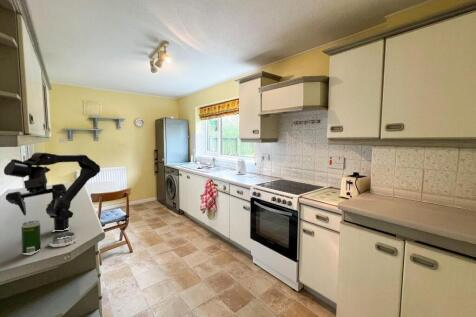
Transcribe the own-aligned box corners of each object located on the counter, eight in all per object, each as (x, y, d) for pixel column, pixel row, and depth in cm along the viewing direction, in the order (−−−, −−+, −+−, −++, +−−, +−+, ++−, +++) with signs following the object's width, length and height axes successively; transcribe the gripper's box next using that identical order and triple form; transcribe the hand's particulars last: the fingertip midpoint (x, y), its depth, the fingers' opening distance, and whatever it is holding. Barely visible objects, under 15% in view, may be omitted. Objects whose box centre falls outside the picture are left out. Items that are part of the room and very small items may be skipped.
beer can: (41, 252, 86) (41, 222, 85) (22, 257, 82) (21, 226, 81) (40, 248, 90) (39, 219, 89) (21, 252, 86) (20, 222, 85)
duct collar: (52, 240, 97) (52, 233, 97) (79, 236, 102) (79, 229, 102) (45, 249, 89) (45, 242, 88) (76, 244, 93) (76, 237, 93)
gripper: (-1, 175, 86) (-1, 212, 80) (59, 166, 96) (62, 199, 90) (11, 186, 95) (12, 220, 89) (65, 177, 104) (68, 207, 99)
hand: (39, 211), depth 92 cm, fingers open, 9 cm apart
